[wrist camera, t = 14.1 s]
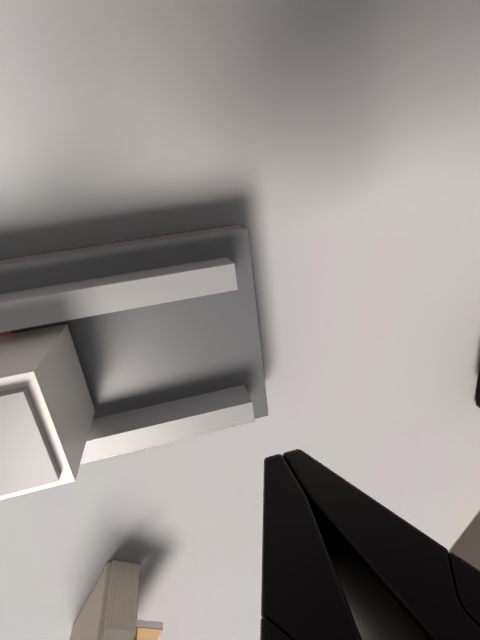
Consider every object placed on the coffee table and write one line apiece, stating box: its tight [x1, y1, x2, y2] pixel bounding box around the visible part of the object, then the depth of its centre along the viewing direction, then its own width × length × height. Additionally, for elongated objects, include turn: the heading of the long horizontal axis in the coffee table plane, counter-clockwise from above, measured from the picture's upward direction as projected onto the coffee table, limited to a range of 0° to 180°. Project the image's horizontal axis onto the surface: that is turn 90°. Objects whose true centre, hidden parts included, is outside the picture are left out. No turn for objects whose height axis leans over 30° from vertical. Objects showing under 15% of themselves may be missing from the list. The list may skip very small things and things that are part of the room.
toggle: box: [0, 324, 95, 500], centre depth 12 cm, size 3×4×4 cm
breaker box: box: [0, 225, 268, 464], centre depth 15 cm, size 13×9×4 cm
